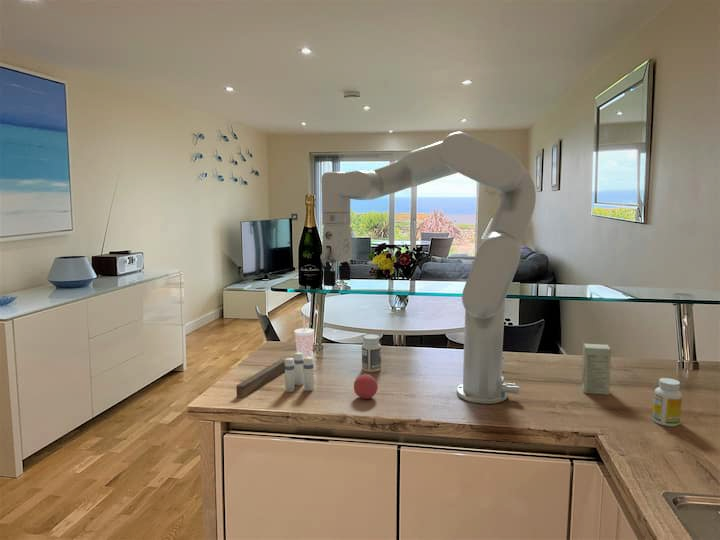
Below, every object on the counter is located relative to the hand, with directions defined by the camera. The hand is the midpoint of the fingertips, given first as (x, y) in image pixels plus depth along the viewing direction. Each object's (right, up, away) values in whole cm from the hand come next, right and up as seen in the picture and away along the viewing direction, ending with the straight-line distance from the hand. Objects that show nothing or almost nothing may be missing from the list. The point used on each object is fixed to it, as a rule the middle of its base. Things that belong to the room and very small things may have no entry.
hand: (337, 282), depth 139 cm
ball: (+8, -26, -10) cm, 29 cm away
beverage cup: (-11, -24, +22) cm, 35 cm away
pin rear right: (-10, -28, +1) cm, 29 cm away
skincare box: (+67, -28, -5) cm, 73 cm away
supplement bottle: (+75, -31, -23) cm, 84 cm away
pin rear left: (-12, -28, -4) cm, 31 cm away
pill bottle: (+9, -26, +12) cm, 30 cm away
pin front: (-7, -28, -3) cm, 29 cm away
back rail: (-20, -27, +2) cm, 34 cm away
